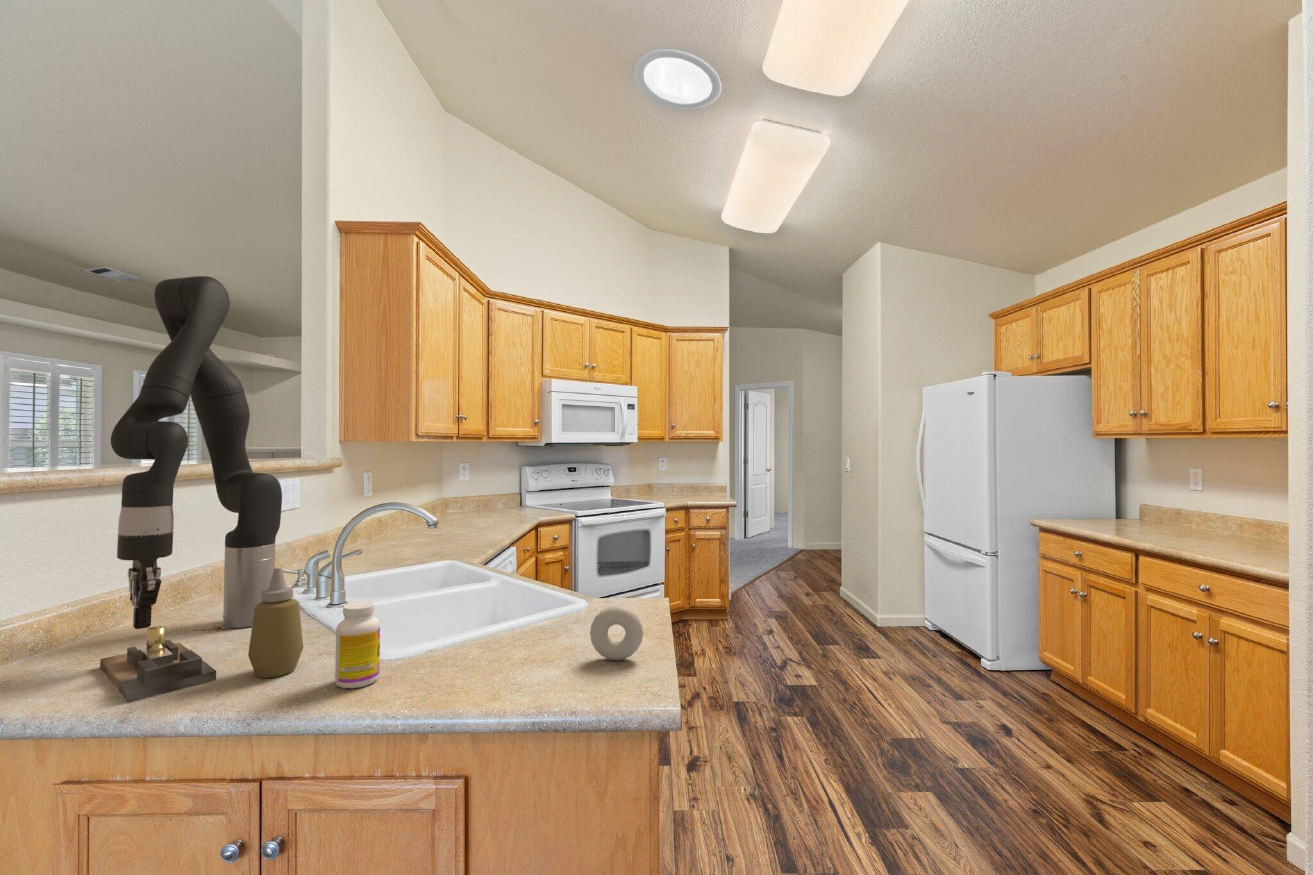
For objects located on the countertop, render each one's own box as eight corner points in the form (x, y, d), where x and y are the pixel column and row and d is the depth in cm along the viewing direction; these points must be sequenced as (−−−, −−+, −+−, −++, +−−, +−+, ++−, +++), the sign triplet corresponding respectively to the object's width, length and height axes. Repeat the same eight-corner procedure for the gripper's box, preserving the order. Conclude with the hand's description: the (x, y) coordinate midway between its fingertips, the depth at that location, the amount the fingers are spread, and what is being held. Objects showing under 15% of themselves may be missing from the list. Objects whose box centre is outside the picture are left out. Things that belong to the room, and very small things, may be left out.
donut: (643, 656, 110) (643, 604, 110) (642, 663, 106) (643, 609, 106) (590, 655, 110) (591, 603, 110) (588, 662, 106) (589, 608, 106)
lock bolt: (160, 654, 103) (161, 621, 103) (172, 665, 98) (173, 630, 99) (138, 659, 101) (139, 625, 101) (149, 670, 96) (150, 634, 96)
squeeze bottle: (243, 685, 95) (245, 575, 95) (251, 668, 102) (253, 566, 102) (301, 676, 99) (302, 571, 99) (304, 660, 106) (306, 562, 106)
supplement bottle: (384, 682, 96) (386, 605, 96) (340, 693, 92) (342, 613, 92) (372, 670, 101) (374, 597, 102) (330, 680, 97) (332, 604, 97)
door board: (179, 650, 110) (179, 628, 110) (216, 679, 97) (216, 654, 97) (100, 667, 101) (100, 643, 102) (128, 702, 88) (129, 674, 88)
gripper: (182, 532, 103) (177, 630, 102) (164, 525, 111) (160, 616, 111) (125, 536, 97) (120, 640, 96) (111, 529, 105) (106, 624, 105)
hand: (141, 627), depth 103 cm, fingers closed
